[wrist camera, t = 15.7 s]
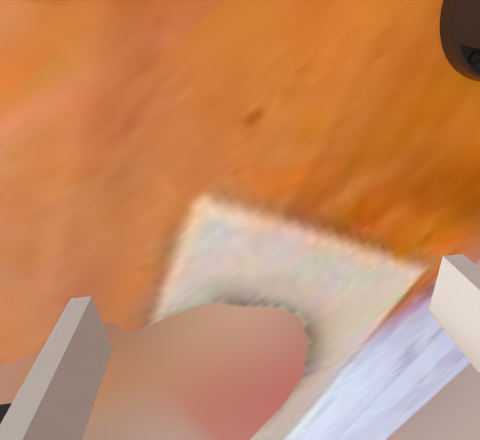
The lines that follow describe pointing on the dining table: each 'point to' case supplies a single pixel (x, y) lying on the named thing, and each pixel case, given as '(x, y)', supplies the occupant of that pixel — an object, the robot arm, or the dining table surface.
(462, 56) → the robot arm
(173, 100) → the dining table surface
